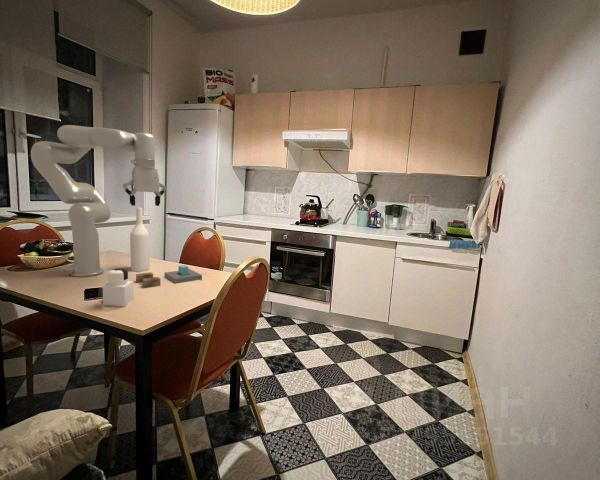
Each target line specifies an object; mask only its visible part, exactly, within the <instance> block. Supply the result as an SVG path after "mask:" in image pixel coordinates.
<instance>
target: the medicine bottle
mask: <svg viewBox="0 0 600 480" xmlns="http://www.w3.org/2000/svg"><path fill="white" fill-rule="evenodd" d="M101 290H102V305H103V306H116V307H117V308H119V307H123V308H124V307H126V306H127V305H128V304H129V303H130V302H132V300H134V299H135V297H134V281H133V280H129V270H128V269H125V268H123V267H122V268H117V267H116V268H112V269H110V270H108V271H107V283H106V284H104V285H102V288H101Z"/></svg>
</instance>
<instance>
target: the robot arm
mask: <svg viewBox="0 0 600 480" xmlns="http://www.w3.org/2000/svg"><path fill="white" fill-rule="evenodd" d="M56 134H57V135H56V136H57V137H58V139H59V140H60V142H62V143H59V142H54V141H46V140H45V141H42V140H41V141H38V142H36V143H34V144H32V147H31V148H30V149H31V150H30V158H31V163H32V164H33V166H34V168H35V169H36V170H37V172H38V173H39V174H41V176H42V177H43V178H44V179H45V181H46V182H47V183H48V184H49V186H50V187H51V189H52V190H53V191H54V193H55V194H56V195H57V197H58V198H59V199H60V201H62V202H63V203H64V204H67V205H71V206H70V207H69V209H68V212H67V213H68V219H69V223H70V225H71V232H72V233H71V235H72V248H73V249H72V250H73V251H72V252H73V263H72V264H71V265H69V266H66V265H65V266H60V271H61V272H69V274H70V276H72V277H77V278H78V277H84V278H85V277H94V276H99V275H102V274H104V271H105V270H104V268H101V264H100V239H99V231H98V229H97V227H96V225H95V224H100V223H101V224H102V223H105V222H107V221H108V220H110V219H111V214H112V212H111V209H110V206H109V205H108V204H107V202H106V201H105V199H104V198H103V197H102V195H101V194H100V192H99V191H98V190H97V189H96V187H94V186H93V185H91V184H89V183H85V182H77V181H75V180H74V179H73V178H72V176H71V175H70V174H69V172H68V171H67V170H66V169H65V168H64V167H62V166H61V165H59V164H67V165H72V164H75V163H77V162H78V161H80V160H81V158H83V157H84V156H85V155H86V154H87V153H88V152H89V151H91V150H92V149H96V150H97V149H101V148H108V149H115V150H119V151H120V150H121V151H125V152H130V153H134V159H133V160H130V163H131V164H133V167H132V172H131V178H130V179H131V180H130V181H126V182H125V183H123V184H122V185H121V186H122V188H123V190H124V191H125V193H126V194H127V195H128V196H129V204H130V205H131V207H134V206H136V196H135V194H136V193H137V192H139V193H140V192H141V193H142V192H144V193H154V194H155V196H154V205H155V206H156V207H159V206H160V205H161V197H162V196H163V195H164V194H165V192H166V191H167V188H168V187H167V186H166V185H164V184H162V183H161V182H160V179H159V178H160V177H159V171H158V169H157V168H156V162H155V161H156V158H155V157H156V155H155V154H156V150H155V149H156V148H155V147H156V146H155V145H156V144H155V136H154V135H153V134H151V133H146V132H136V133H131V132H127V131H124V130H121V129H116V128H108V127H96V126H95V127H93V126H92V127H91V126H84V125H83V126H82V125H72V124H65V125H62V126H60V127H59V128H58V129H57V133H56ZM129 186H130V187H131V190H130V189H129V188H128V187H129ZM160 188H161V190H160Z"/></svg>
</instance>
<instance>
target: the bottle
mask: <svg viewBox="0 0 600 480" xmlns="http://www.w3.org/2000/svg"><path fill="white" fill-rule="evenodd" d="M135 215H136V216H135V225H134V226H133V229H132V230H131V232H130V234H129V240H130V244H129V246H130V270H131V271H133V272H145V271H146V272H147V271H148V270H150V233H149V231H148V230H147V228H146V227H145V226H144V221H143V219H144V218H143V207H135Z"/></svg>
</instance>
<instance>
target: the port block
mask: <svg viewBox="0 0 600 480" xmlns="http://www.w3.org/2000/svg"><path fill="white" fill-rule="evenodd" d="M163 273H164V275H163V276H164V278H165V279H167V280H169V281H170V282H172V283H174V284H175V285H176V284H182V283H186V282H187V283H188V282H193V281H199V280H200V281H203V274H201V273H199V272H197V271H194V270H193V269H190V268H189V275H183V276H180V275H178V270H174V271H173V270H172V271H167V272H163Z"/></svg>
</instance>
